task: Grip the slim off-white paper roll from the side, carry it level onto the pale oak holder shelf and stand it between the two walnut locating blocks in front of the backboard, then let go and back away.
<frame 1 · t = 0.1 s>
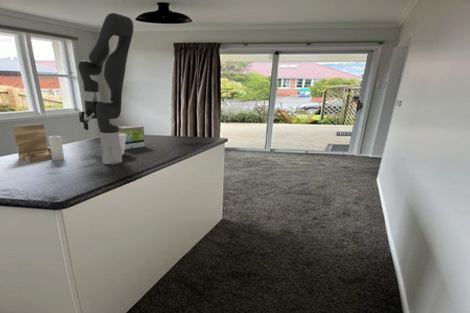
hand: (94, 129, 140), 17 cm above the table, tool pointing down, fingers open, 8 cm apart
tea box: (131, 147, 174), on the table
holder: (39, 157, 141), on the table
cup: (117, 154, 154), on the table
roll: (58, 159, 139), on the table
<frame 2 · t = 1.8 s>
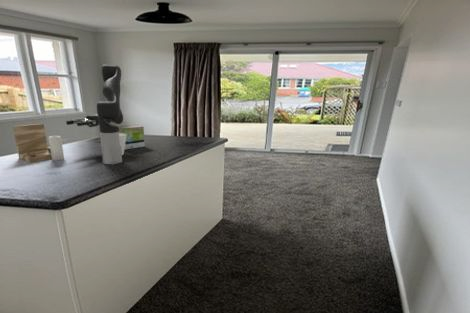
hand: (72, 123, 145), 19 cm above the table, tool horizontal, fingers open, 8 cm apart
nothing on the table moved.
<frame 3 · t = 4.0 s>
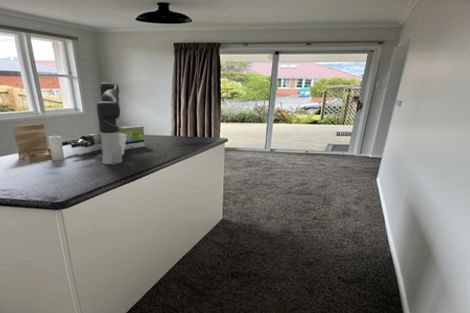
hand: (66, 145, 143), 7 cm above the table, tool horizontal, fingers open, 8 cm apart
nothing on the table moved.
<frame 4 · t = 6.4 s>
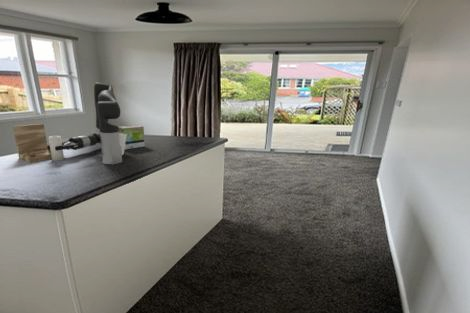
hand: (51, 148, 135), 7 cm above the table, tool horizontal, fingers closed on roll, 5 cm apart
roll: (58, 159, 139), on the table, touching gripper
everything else where it was.
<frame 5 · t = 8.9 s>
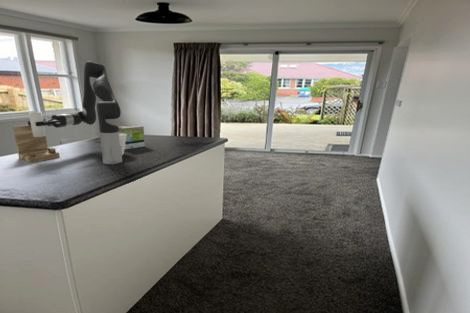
hand: (32, 123, 133), 20 cm above the table, tool horizontal, fingers closed on roll, 5 cm apart
roll: (39, 135, 137), point 13 cm above the table, touching gripper
everything else where it was.
when the fingers open (11 cm above the table, at t = 11.5 s): roll drops 1 cm, resting on holder.
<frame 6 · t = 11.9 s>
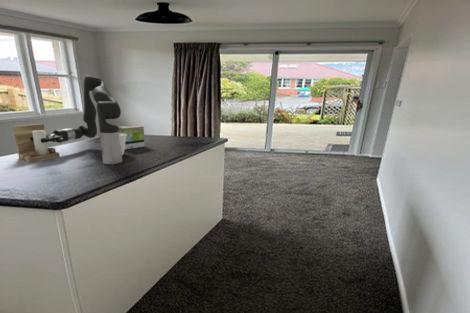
hand: (35, 140, 135), 11 cm above the table, tool horizontal, fingers open, 8 cm apart
roll: (42, 154, 139), point 3 cm above the table, touching holder
everything else where it was.
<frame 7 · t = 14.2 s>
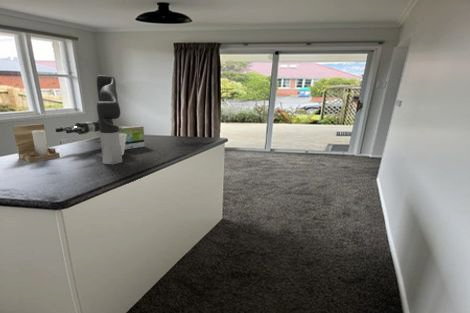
hand: (61, 131, 147), 14 cm above the table, tool horizontal, fingers open, 8 cm apart
nothing on the table moved.
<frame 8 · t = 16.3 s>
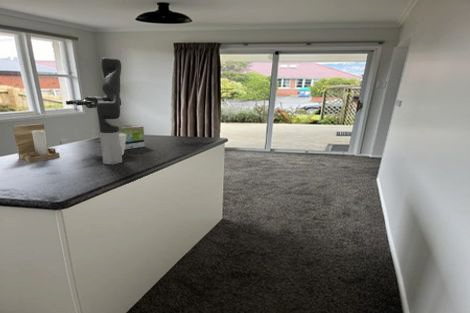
hand: (71, 103, 150), 30 cm above the table, tool horizontal, fingers open, 8 cm apart
nothing on the table moved.
at the end: roll 0.1 cm from the target spot on the holder, point 2.5 cm above the holder's base; roll tilted 0°; the gripper is holding nothing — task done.
